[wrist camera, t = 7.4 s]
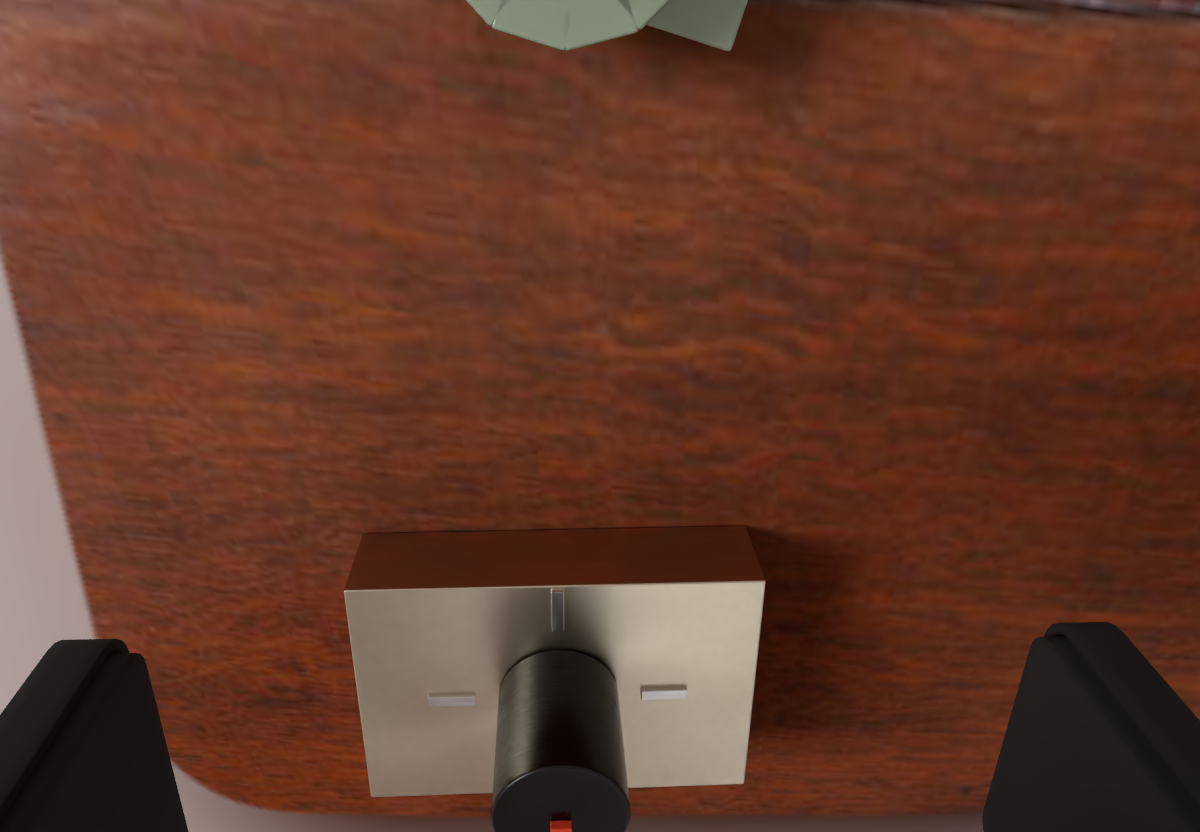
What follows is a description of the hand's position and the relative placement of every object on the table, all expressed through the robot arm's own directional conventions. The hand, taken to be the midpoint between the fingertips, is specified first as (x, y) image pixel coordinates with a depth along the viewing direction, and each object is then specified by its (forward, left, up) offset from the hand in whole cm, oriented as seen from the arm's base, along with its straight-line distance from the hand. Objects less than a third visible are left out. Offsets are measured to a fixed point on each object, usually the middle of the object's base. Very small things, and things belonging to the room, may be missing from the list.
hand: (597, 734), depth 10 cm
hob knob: (-9, -8, -14) cm, 19 cm away
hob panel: (-9, -8, -17) cm, 21 cm away
